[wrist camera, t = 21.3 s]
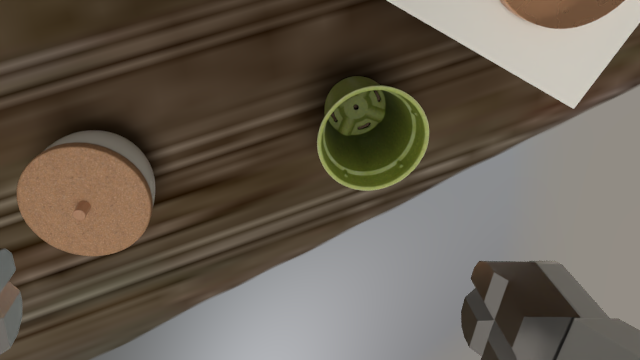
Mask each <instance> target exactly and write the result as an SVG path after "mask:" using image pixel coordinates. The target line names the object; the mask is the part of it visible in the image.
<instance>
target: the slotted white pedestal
mask: <svg viewBox="0 0 640 360" xmlns="http://www.w3.org/2000/svg"><path fill="white" fill-rule="evenodd" d="M387 1H388V2H390V3H392V4H394V5H395V6H397V7H399V8H400V9H402V10H404V11H406V12H407V13H409V14H411V15H413V16H414V17H416V18H418V19H419V20H421V21H423V22H425V23H426V24H428V25H430V26H432V27H433V28H435V29H437V30H438V31H440V32H442V33H444V34H445V35H447V36H449V37H450V38H452V39H454V40H456V41H457V42H459V43H461V44H463V45H464V46H466V47H468V48H469V49H471V50H473V51H475V52H476V53H478V54H480V55H482V56H483V57H485V58H487V59H488V60H490V61H492V62H494V63H495V64H497V65H499V66H501V67H502V68H504V69H506V70H507V71H509V72H511V73H513V74H514V75H516V76H518V77H519V78H521V79H523V80H525V81H526V82H528V83H530V84H532V85H533V86H535V87H537V88H538V89H540V90H542V91H544V92H545V93H547V94H549V95H551V96H552V97H554V98H556V99H557V100H559V101H561V102H563V103H564V104H566V105H568V106H569V107H571V108H573V109H574V108H575V107H576V105H577V104H578V103H579V101H580V100H581V99H582V97H583V96H584V95H585V94H586V92H587V91H588V90H589V88H590V87H591V86H592V84H593V83H594V82H595V80H596V79H597V78H598V76H599V75H600V74H601V73H602V71H603V70H604V69H605V67H606V66H607V65H608V63H609V62H610V61H611V59H612V58H613V57H614V55H615V54H616V53H617V52H618V50H619V49H620V48H621V46H622V45H623V44H624V42H625V41H626V40H627V38H628V37H629V36H630V34H631V33H632V32H633V31H634V29H635V28H636V27H637V25H638V24H639V23H640V0H625V1H624V2H623V3H621V4H620V5H619V6H618V7H617V8H615V9H614V10H612V11H611V12H610V13H608V14H607V15H605V16H603V17H601V18H599V19H598V20H596V21H593V22H591V23H588V24H586V25H582V26H579V27H575V28H567V29H553V28H546V27H543V26H539V25H536V24H534V23H531V22H528V21H526V20H523V19H521V18H519V17H517V16H516V15H514V14H513V13H512V12H510V11H509V10H508V9H507V8H506V7H505V6H504V5H503V4H502V3H501V2H500V0H387Z"/></svg>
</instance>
